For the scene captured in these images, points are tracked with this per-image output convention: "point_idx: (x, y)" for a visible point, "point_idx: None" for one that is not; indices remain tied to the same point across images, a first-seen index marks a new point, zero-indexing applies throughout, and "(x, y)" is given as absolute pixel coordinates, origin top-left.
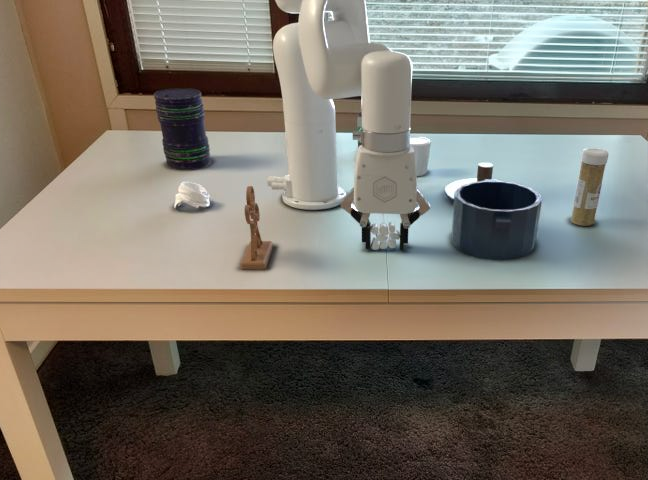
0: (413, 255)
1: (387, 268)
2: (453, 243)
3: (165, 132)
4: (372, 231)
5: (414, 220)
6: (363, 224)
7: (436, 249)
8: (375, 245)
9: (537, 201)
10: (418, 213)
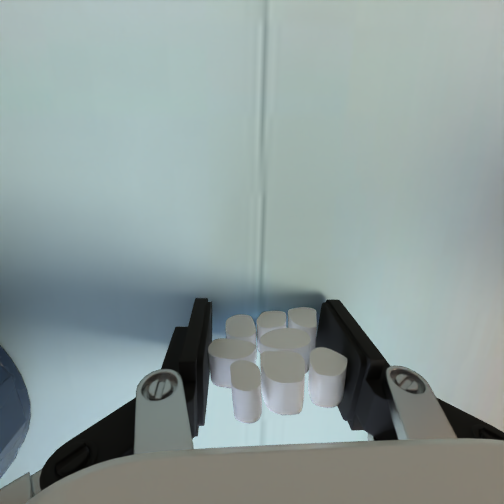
0: (158, 271)
1: (261, 152)
2: (9, 363)
3: None
4: (336, 357)
5: (103, 423)
6: (402, 379)
7: (73, 322)
8: (303, 316)
9: None
10: (42, 484)
